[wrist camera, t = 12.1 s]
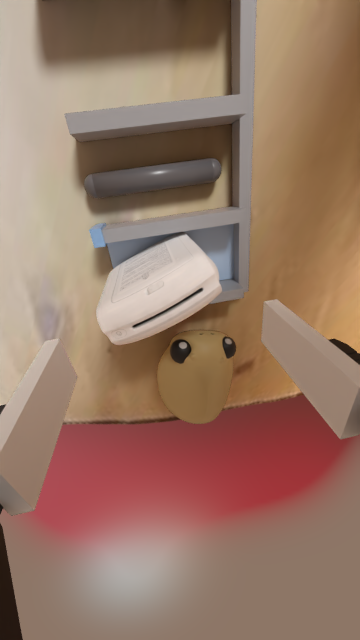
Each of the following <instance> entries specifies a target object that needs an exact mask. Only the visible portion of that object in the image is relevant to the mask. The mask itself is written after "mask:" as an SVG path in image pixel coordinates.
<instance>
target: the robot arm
mask: <svg viewBox="0 0 360 640" xmlns="http://www.w3.org/2000/svg"><path fill="white" fill-rule="evenodd" d="M261 342H262V343H263V344H264V345H265V347H266V348H267V349H268V350H269V352H270V353H271V354H272V355H273V357H274V358H275V359H276V360H277V361H278V363H279V364H280V365H281V366H282V368H283V369H284V370H285V371H286V373H287V374H288V375H289V376H290V378H291V379H292V380H293V381H294V383H295V384H296V385H297V386H298V388H299V389H300V390H301V391H302V392H303V394H304V395H305V396H306V397H307V399H308V400H309V401H310V402H311V403H312V405H313V406H314V407H315V409H316V410H317V411H318V412H319V413H320V415H321V416H322V417H323V418H324V420H325V421H326V422H327V423H328V425H329V426H330V427H331V428H332V430H333V431H334V432H335V433H336V435H337V436H338V437H339V438H340V439H344V438H348V437H352V436H357V435H359V434H360V354H359V353H357V351H355V350H354V349H353V348H351V347H350V346H349V345H347V344H345V343H343V342H341V341H338V340H336V339H330V340H327V339H326V338H325V337H324V336H322V335H321V334H320V333H319V332H317V331H316V330H315V329H314V328H312V327H311V326H310V325H309V324H307V323H306V322H305V321H304V320H302V319H301V318H300V317H299V316H297V315H296V314H295V313H294V312H292V311H291V310H290V309H288V308H287V307H286V306H285V305H283V304H282V303H281V302H280V301H278V300H277V299H275V300H269V301H264V306H263V321H262V337H261ZM76 380H77V375H76V372H75V370H74V368H73V366H72V364H71V361H70V359H69V357H68V355H67V353H66V350H65V348H64V346H63V344H62V342H61V339H54V340H49V341H45V342H44V344H43V345H42V347H41V349H40V350H39V352H38V354H37V355H36V357H35V359H34V360H33V362H32V363H31V365H30V367H29V368H28V370H27V372H26V373H25V375H24V377H23V378H22V380H21V381H20V383H19V385H18V386H17V388H16V390H15V391H14V393H13V395H12V396H11V398H10V399H9V401H8V403H7V404H6V405H1V406H0V514H1V511H2V509H5V510H6V511H7V512H8V513H9V514H10V515H11V516H13V515H17V514H22V513H26V512H30V511H34V510H35V507H36V504H37V501H38V498H39V495H40V492H41V489H42V486H43V482H44V479H45V476H46V473H47V470H48V467H49V464H50V461H51V458H52V455H53V452H54V448H55V445H56V442H57V439H58V436H59V433H60V430H61V427H62V424H63V421H64V417H65V414H66V411H67V408H68V405H69V402H70V399H71V396H72V393H73V390H74V387H75V383H76ZM0 640H23V639H22V634H21V629H20V623H19V617H18V612H17V606H16V600H15V595H14V589H13V584H12V578H11V573H10V567H9V562H8V556H7V550H6V545H5V539H4V534H3V529H2V526H1V524H0Z"/></svg>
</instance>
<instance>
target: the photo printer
mask: <svg viewBox="0 0 360 640" xmlns="http://www.w3.org/2000/svg"><path fill="white" fill-rule="evenodd" d="M221 292H222V287H221V285H220V283H219V272H218V269H217V267H216V265H215V263H214V262H213V261H212V260H211V259H210V258H209V257H208V256H207V255H206V254H205V253H204V252H203V251H202V249H201V248H200V247H199V246H198V245H197V244H196V243H195V242H194V241H193V240H192V239H191V238H190V237H189V236H187V234H186V233H185V232H179V233H176V234H173V235H171V236H169V237H167V238H165V239H163V240H161V241H159V242H157V243H156V244H154V245H152V246H150V247H148V248H146V249H145V250H143V251H141V252H139V253H138V254H136V255H134V256H132V257H131V258H129V259H127V260H126V261H124V262H122V263H121V264H119V265H118V266H117V267H115V268H114V269H113V270H112V271H111V272H110V273H109V276H108V278H107V281H106V284H105V287H104V290H103V293H102V295H101V298H100V301H99V304H98V306H97V309H96V315H97V320H98V323H99V326H100V328H101V330H102V332H103V333H104V334H106V335H107V336H108V337H109V339H110V341H111V342H112V343H113V344H115V345H123V344H129V343H133V342H136V341H139V340H142V339H145V338H147V337H150V336H152V335H155V334H157V333H159V332H161V331H163V330H165V329H167V328H169V327H171V326H173V325H175V324H177V323H179V322H181V321H183V320H184V319H186V318H188V317H189V316H191V315H193V314H194V313H196V312H197V311H199V310H200V309H202V308H203V307H205V306H206V305H207V304H209V303H210V302H211V301H213V300H214V299H215V298H216V297H217V296H218V295H219V294H220V293H221Z"/></svg>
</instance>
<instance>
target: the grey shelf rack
mask: <svg viewBox="0 0 360 640" xmlns="http://www.w3.org/2000/svg"><path fill="white" fill-rule="evenodd" d="M256 3H257V0H231V63H232V95H228V96H219V97H210V98H201V99H192V100H183V101H174V102H165V103H156V104H147V105H138V106H129V107H120V108H111V109H102V110H93V111H84V112H75V113H66V114H65V118H66V121H67V125H68V129H69V132H70V135H72V136H73V137H74V138H75V139H77V140H78V141H79V142H85V141H93V140H102V139H110V138H118V137H126V136H135V135H143V134H151V133H159V132H168V131H176V130H184V129H192V128H201V127H209V126H217V125H226V124H232V206H231V207H224V208H217V209H211V210H204V211H197V212H190V213H184V214H177V215H170V216H163V217H157V218H150V219H143V220H136V221H130V222H123V223H116V224H109V225H106V223H102V224H96V225H94V226H93V227H92V228H91V229H90V230H89V231H90V234H91V238H92V241H93V244H94V248H98V247H104V246H106V244H107V247H108V251H109V254H110V258H111V262H112V266H113V269H114V268H115V267H117V266H118V265H119V264H121V263H122V262H124V261H126V260H127V259H129V258H131V257H132V256H134V255H136V254H138V253H139V252H141V251H143V250H145V249H146V248H148V247H150V246H152V245H154V244H156V243H157V242H159V241H161V240H163V239H165V238H167V237H169V236H171V235H173V234H176V233H179V232H185V233H186V234H187V236H189V237H190V238H191V239H192V240H193V241H194V242H195V243H196V244H197V245H198V246H199V247H200V248H201V249H202V251H203V252H204V253H205V254H206V255H207V256H208V257H209V258H210V259H211V260H212V261H213V262H214V263H215V265H216V267H217V269H218V272H219V283H220V285H221V287H222V292H221V293H220V294H219V295H218V296H217V297H216V298H215V299H214V300H213V301H211V302H210V303H209V304H213V303H218V302H224V301H229V300H235V299H240V298H244V292H247V291H248V287H249V252H250V216H251V181H252V145H253V109H254V74H255V38H256ZM220 174H221V165H220V163H219V161H218V160H216V159H214V158H207V159H200V160H192V161H184V162H177V163H169V164H162V165H154V166H146V167H139V168H131V169H124V170H116V171H108V172H101V173H93V174H89V175H88V176H87V177H86V178H85V180H84V188H85V190H86V192H87V193H88V194H89V195H90V196H91V197H93V198H104V197H111V196H118V195H126V194H133V193H140V192H147V191H154V190H161V189H169V188H176V187H183V186H190V185H197V184H205V183H212V182H214V181H216V180H217V179H218V178H219V176H220Z"/></svg>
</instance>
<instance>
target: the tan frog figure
mask: <svg viewBox="0 0 360 640" xmlns="http://www.w3.org/2000/svg"><path fill="white" fill-rule="evenodd" d="M235 351H236V345H235V342H234V341H233V339H231V338H230V337H228V336H227V335H225V334H224V333H221V332H218V331H210V330H191V331H184V332H181V333H179V334H177V335H176V336H175V337H173V338H172V340H171V342H170V344H169V347H168V348H167V349H166V350H165V352H164V353H163V355H162V357H161V359H160V361H159V364H158V368H157V384H158V389H159V393H160V396H161V398H162V400H163V402H164V404H165V406H166V407H167V408H168V409H169V411H170V412H171V413H172V414H174V415H175V416H176V417H178V418H179V419H181V420H183V421H186V422H189V423H194V424H203V423H208V422H211V421H212V420H214V419H215V418H216V417H217V416H218V415H219V414H220V412H221V411H222V409H223V407H224V405H225V402H226V400H227V397H228V394H229V390H230V386H231V381H232V375H233V366H234V363H233V358H232V356H233V355H234V354H235Z"/></svg>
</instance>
